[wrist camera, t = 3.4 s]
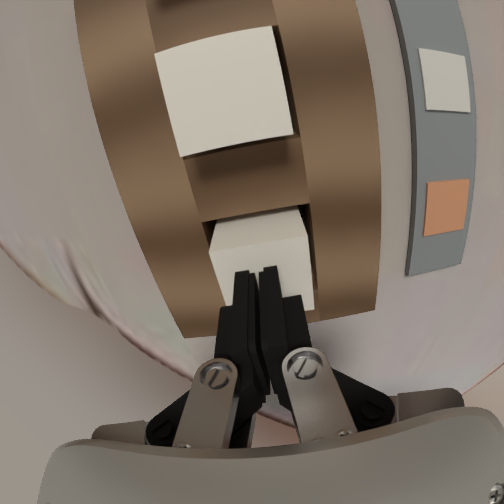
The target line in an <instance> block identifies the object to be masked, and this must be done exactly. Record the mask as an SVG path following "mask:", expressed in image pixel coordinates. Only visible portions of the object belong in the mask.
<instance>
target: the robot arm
mask: <svg viewBox="0 0 504 504" xmlns="http://www.w3.org/2000/svg"><path fill="white" fill-rule="evenodd" d="M270 380H271V384H272V387H273V390H274V394H277V395H278V399H279V402H280V404H281V405H282V406H284V407H285V408H287V409H288V410H290V411H291V414H292V417H293V421H294V424H295V428H296V432H297V435H298V439H299V442H300V443H299V444H291V445H282V446H272V447H260V448H251V445H252V439H253V433H254V427H255V421H256V412H257V411H258V410H259V409H260V408H261V407H262V403H266V395H270ZM37 504H504V428H503V426H502V424H501V423H500V421H499V420H498V418H497V417H496V416H495V415H494V414H493V413H492V412H490V411H489V410H487V409H483V408H478V407H465V406H464V400H463V398H462V395H461V394H460V393H459V392H458V391H457V390H455V389H453V388H441V389H434V390H426V391H418V392H408V393H398V395H397V396H387V395H385V394H384V393H382V392H380V391H378V390H375V389H373V388H371V387H369V386H367V385H365V384H363V383H361V382H359V381H357V380H355V379H353V378H351V377H349V376H347V375H345V374H343V373H341V372H339V371H337V370H335V369H333V368H331V367H330V364H329V362H328V360H327V358H326V356H325V355H324V353H322V352H321V351H320V350H318V349H315V348H312V345H311V340H310V335H309V330H308V325H307V320H306V315H305V310H304V306H303V301H302V296H301V295H295V296H289V297H282V291H281V285H280V280H279V274H278V269H277V265H275V266H269V267H263V271H261V272H259V288H258V284H257V280H256V276H255V273H250V272H249V270H244V271H238V272H235V276H234V288H233V301H232V305H230V306H222V307H221V308H220V311H219V319H218V328H217V336H216V345H215V354H214V359H212V360H209V361H207V362H205V363H203V364H202V365H201V366H200V367H199V368H198V370H197V372H196V373H195V376H194V379H193V382H192V385H191V388H190V390H189V391H187V392H186V393H185V394H184V395H182V396H181V397H180V398H179V399H177V400H176V401H175V402H173V403H172V404H171V405H170V406H168V407H167V408H166V409H164V410H163V411H162V412H160V413H159V414H158V415H156V416H155V417H154V418H153V419H152V420H151V421H150V422H145V421H144V420H142V421H134V422H127V423H118V424H109V425H102V426H99V427H98V428H97V429H95V431H94V432H93V434H92V438H91V439H81V440H75V441H71V442H68V443H65V444H63V445H61V446H59V447H58V448H57V449H56V450H55V451H54V452H53V453H52V455H51V457H50V459H49V462H48V464H47V467H46V469H45V472H44V476H43V479H42V483H41V487H40V491H39V495H38V501H37Z"/></svg>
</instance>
